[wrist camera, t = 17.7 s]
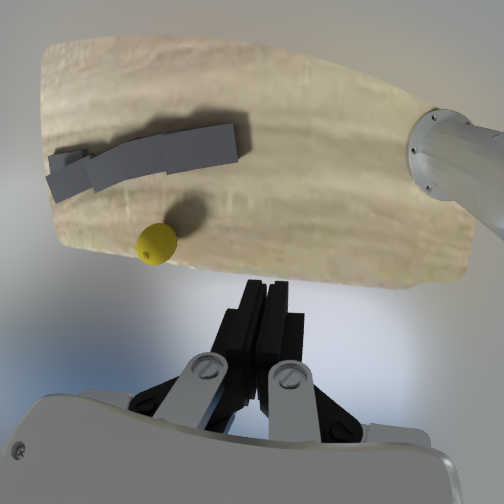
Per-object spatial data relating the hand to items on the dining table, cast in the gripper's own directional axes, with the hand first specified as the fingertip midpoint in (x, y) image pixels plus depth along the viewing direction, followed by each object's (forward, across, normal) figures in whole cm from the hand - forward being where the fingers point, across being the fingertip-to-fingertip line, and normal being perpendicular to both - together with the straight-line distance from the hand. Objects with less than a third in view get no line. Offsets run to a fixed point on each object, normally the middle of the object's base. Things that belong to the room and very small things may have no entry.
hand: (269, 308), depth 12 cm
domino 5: (+26, +7, -4) cm, 28 cm away
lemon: (+27, +19, +9) cm, 34 cm away
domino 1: (+27, +33, -3) cm, 42 cm away
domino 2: (+26, +30, -2) cm, 39 cm away
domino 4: (+26, +14, -4) cm, 30 cm away
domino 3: (+26, +21, -4) cm, 33 cm away
